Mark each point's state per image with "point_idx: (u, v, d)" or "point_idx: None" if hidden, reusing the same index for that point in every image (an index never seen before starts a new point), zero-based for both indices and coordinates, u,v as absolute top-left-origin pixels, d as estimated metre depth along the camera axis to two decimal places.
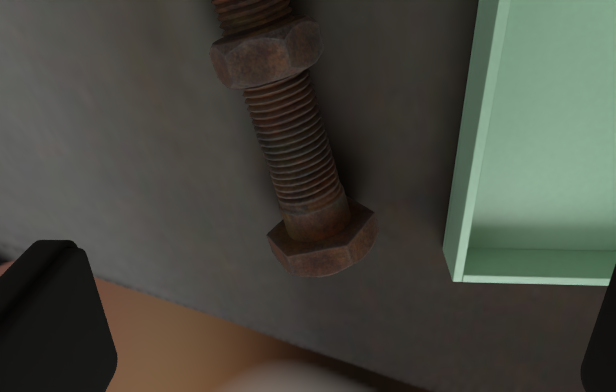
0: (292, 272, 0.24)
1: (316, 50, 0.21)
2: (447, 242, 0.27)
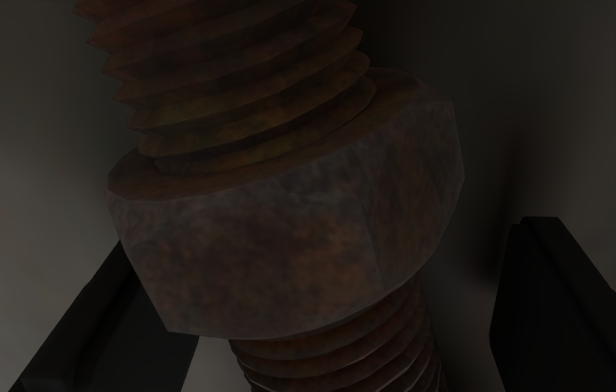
0: None
1: (448, 192, 0.06)
2: None
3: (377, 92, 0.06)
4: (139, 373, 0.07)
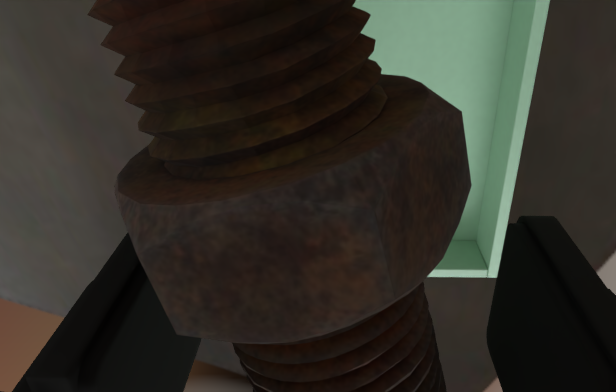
0: None
1: (456, 201, 0.06)
2: None
3: (388, 100, 0.06)
4: (143, 372, 0.07)
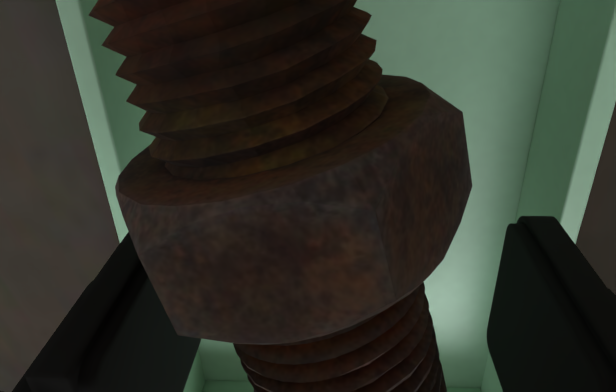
0: None
1: (457, 201, 0.06)
2: None
3: (388, 101, 0.06)
4: (143, 372, 0.07)
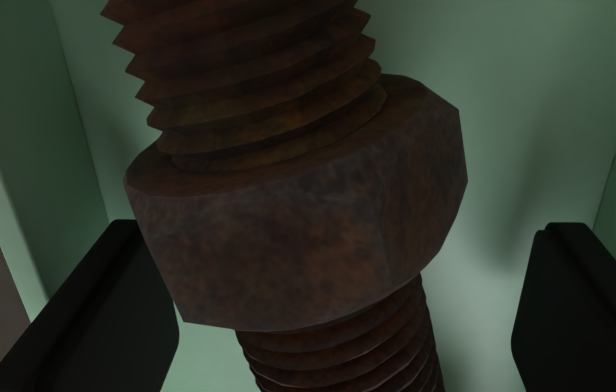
0: None
1: (453, 196, 0.07)
2: None
3: (387, 98, 0.06)
4: (110, 381, 0.07)
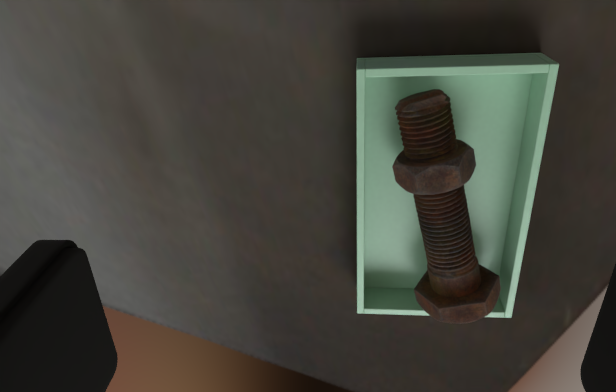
0: (440, 319, 0.32)
1: (472, 168, 0.29)
2: None
3: (458, 146, 0.29)
4: None
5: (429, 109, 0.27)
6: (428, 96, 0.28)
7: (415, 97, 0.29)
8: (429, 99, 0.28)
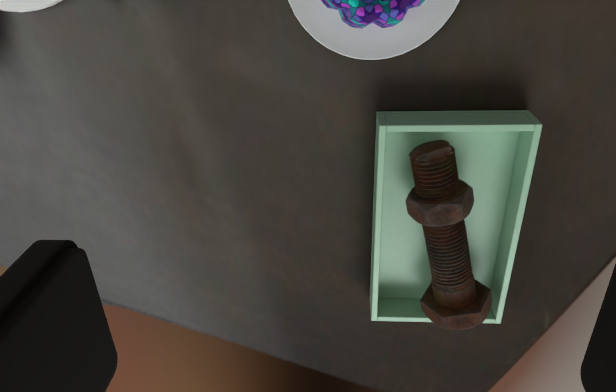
0: (443, 326, 0.39)
1: (471, 204, 0.36)
2: (370, 295, 0.44)
3: (460, 186, 0.36)
4: None
5: (438, 159, 0.34)
6: (437, 146, 0.35)
7: (426, 146, 0.35)
8: (438, 150, 0.34)
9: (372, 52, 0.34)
